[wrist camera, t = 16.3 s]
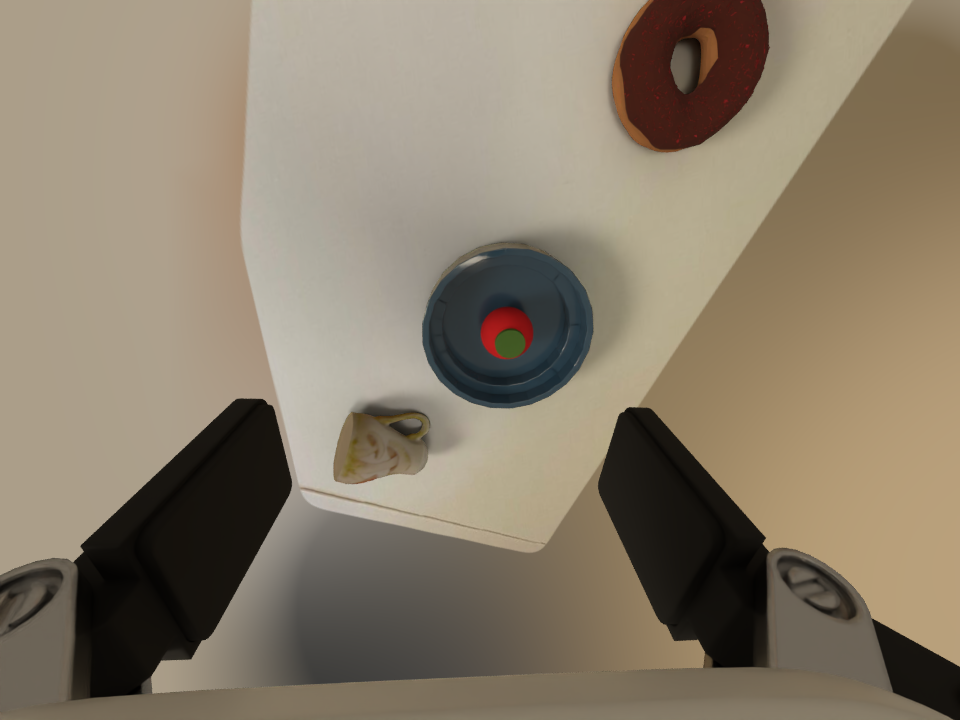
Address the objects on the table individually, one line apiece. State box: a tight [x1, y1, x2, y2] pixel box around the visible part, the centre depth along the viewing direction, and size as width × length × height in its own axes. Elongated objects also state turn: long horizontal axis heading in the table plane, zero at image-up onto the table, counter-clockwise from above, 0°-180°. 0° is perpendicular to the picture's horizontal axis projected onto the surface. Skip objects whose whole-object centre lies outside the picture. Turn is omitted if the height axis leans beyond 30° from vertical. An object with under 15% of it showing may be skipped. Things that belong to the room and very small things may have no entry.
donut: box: [612, 0, 770, 152], centre depth 24 cm, size 10×10×4 cm
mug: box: [334, 412, 430, 484], centre depth 36 cm, size 8×10×10 cm
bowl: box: [422, 242, 593, 408], centre depth 32 cm, size 15×15×4 cm
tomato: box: [481, 307, 533, 359], centre depth 31 cm, size 5×5×5 cm
